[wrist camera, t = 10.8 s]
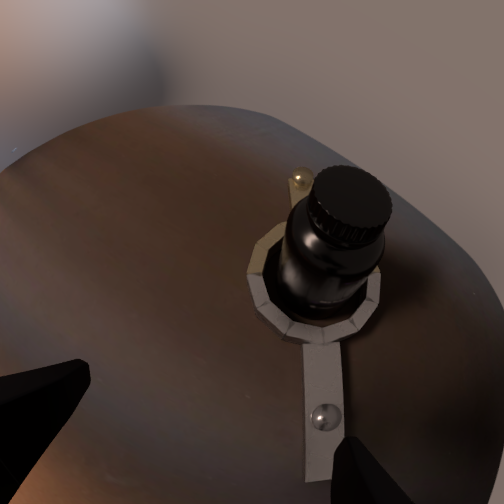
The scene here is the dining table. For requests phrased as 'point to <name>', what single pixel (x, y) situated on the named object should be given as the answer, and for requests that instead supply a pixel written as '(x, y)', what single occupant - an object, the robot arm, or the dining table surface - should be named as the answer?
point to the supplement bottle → (332, 241)
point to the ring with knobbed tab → (274, 238)
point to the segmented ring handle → (317, 370)
